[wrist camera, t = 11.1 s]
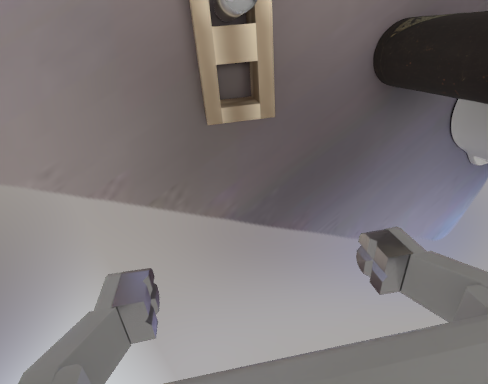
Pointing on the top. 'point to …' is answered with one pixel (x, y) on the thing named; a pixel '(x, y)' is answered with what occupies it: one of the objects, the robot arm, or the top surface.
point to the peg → (232, 8)
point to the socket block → (236, 61)
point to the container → (437, 55)
